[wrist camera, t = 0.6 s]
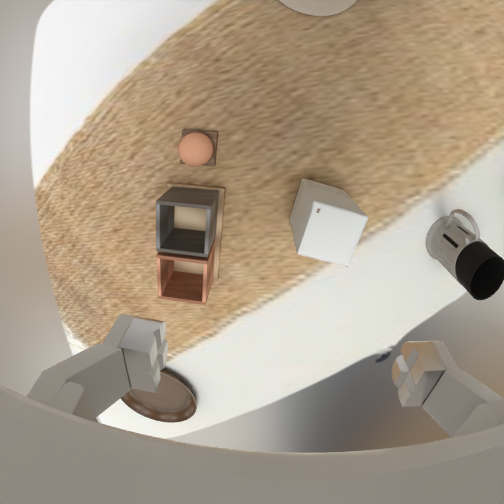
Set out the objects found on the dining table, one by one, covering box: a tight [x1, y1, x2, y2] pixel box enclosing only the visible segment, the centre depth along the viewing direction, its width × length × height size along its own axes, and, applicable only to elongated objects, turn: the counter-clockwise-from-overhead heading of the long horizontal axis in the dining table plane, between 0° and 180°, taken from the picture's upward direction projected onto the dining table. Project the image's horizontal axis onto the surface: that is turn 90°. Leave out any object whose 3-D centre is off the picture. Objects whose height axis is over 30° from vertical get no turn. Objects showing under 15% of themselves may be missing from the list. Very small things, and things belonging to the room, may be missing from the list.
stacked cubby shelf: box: [156, 183, 225, 305], centre depth 48 cm, size 16×9×9 cm, turn 174°
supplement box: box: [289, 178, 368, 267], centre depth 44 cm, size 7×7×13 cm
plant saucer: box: [121, 370, 197, 422], centre depth 69 cm, size 21×21×3 cm
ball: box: [178, 132, 213, 167], centre depth 43 cm, size 5×5×5 cm
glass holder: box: [426, 209, 504, 300], centre depth 43 cm, size 9×14×15 cm, turn 31°
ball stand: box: [180, 129, 218, 166], centre depth 46 cm, size 5×5×1 cm
